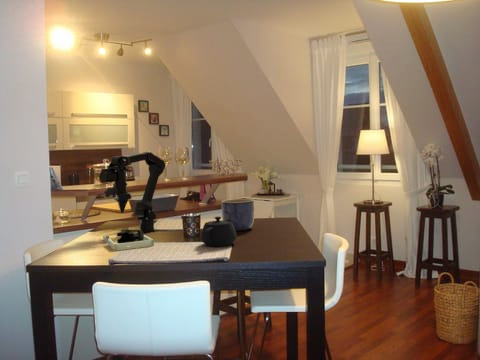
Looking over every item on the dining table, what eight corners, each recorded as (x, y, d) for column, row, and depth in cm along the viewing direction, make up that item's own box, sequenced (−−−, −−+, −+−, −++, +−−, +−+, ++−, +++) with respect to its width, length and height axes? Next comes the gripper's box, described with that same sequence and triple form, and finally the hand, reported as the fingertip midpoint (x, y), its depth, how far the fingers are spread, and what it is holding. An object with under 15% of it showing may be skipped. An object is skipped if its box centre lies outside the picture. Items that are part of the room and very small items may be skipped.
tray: (144, 240, 225) (144, 234, 225) (153, 245, 211) (153, 239, 211) (107, 244, 218) (107, 239, 218) (114, 250, 204) (114, 244, 204)
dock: (136, 235, 238) (136, 229, 238) (141, 238, 229) (141, 232, 229) (103, 239, 231) (102, 233, 231) (106, 243, 222) (106, 236, 222)
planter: (217, 231, 240) (215, 202, 239) (230, 226, 256) (229, 198, 255) (247, 232, 234) (246, 202, 233) (259, 227, 250) (258, 198, 248)
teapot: (223, 251, 194) (222, 221, 194) (190, 249, 201) (188, 220, 200) (247, 239, 217) (246, 212, 216) (216, 238, 224) (215, 212, 223)
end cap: (144, 243, 218) (143, 228, 217) (135, 246, 211) (135, 231, 211) (125, 243, 221) (124, 228, 221) (116, 246, 215) (115, 231, 214)
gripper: (100, 181, 241) (102, 212, 242) (106, 183, 224) (108, 216, 225) (122, 180, 245) (124, 210, 246) (130, 181, 229) (132, 214, 230)
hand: (122, 212), depth 237 cm, fingers closed
